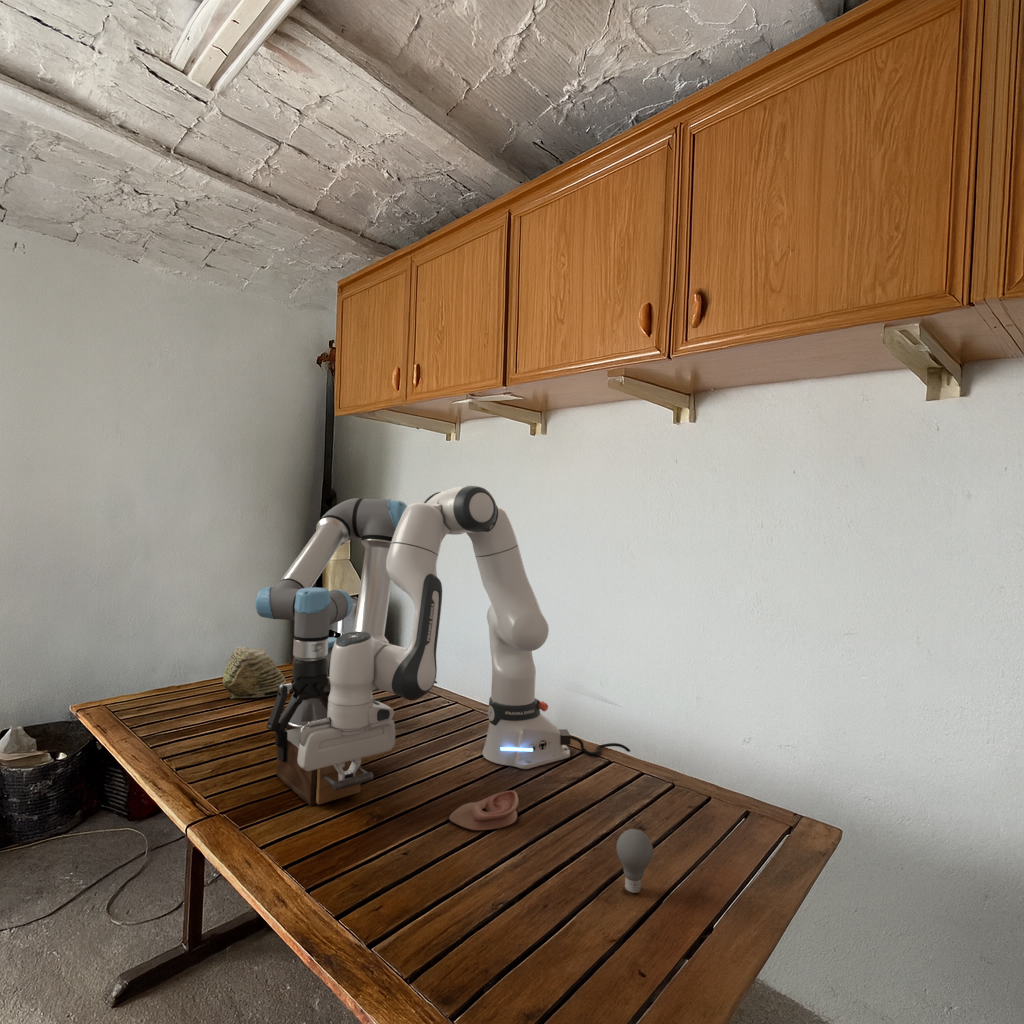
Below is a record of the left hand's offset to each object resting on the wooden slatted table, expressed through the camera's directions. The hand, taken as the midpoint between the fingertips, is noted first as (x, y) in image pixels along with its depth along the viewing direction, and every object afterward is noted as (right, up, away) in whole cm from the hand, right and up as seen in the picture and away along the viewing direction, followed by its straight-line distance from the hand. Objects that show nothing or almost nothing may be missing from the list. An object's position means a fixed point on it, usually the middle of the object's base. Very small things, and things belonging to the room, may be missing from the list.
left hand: (306, 753), depth 143 cm
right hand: (+13, 0, -14) cm, 19 cm away
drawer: (+7, -4, -8) cm, 12 cm away
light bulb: (+67, -9, -38) cm, 77 cm away
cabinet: (+3, -5, -4) cm, 7 cm away
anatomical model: (+41, -7, -15) cm, 44 cm away
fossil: (-34, -2, +55) cm, 64 cm away
